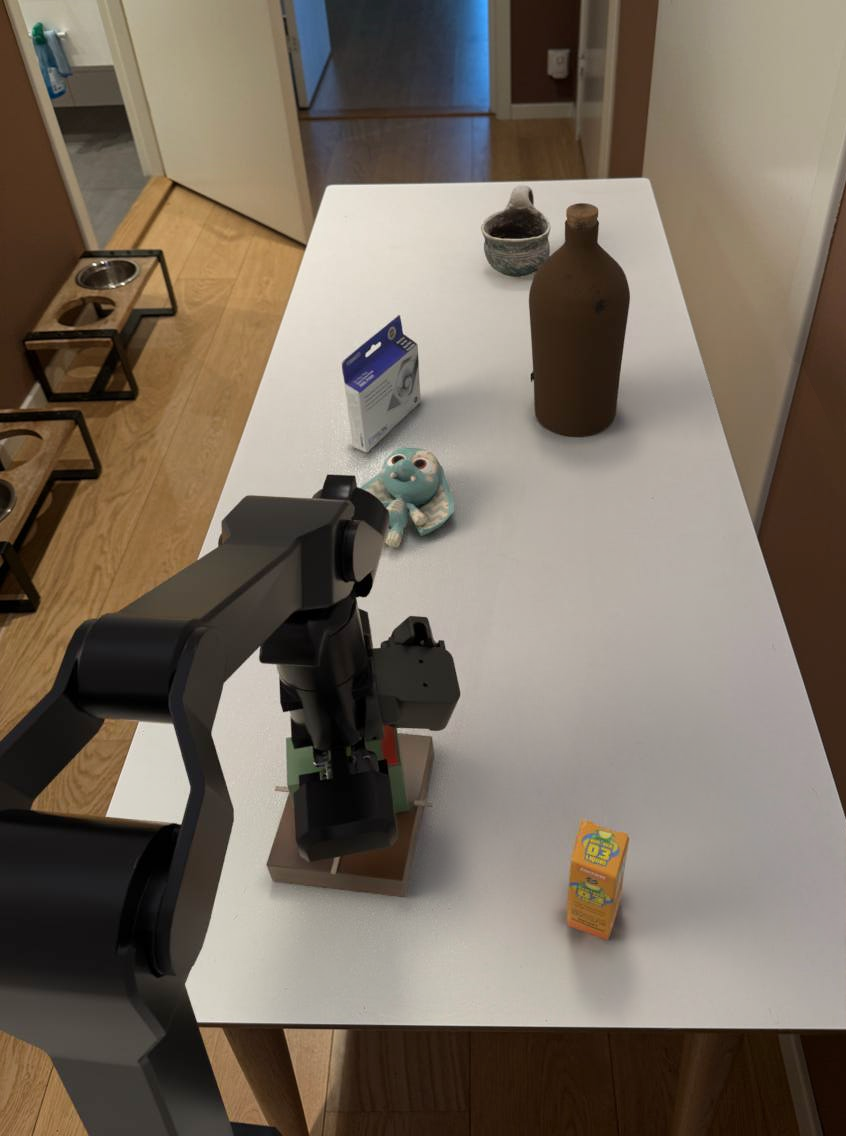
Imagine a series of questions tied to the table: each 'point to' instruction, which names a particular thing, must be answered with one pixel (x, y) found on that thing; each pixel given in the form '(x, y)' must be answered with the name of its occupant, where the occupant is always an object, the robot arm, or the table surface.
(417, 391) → the ink box
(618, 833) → the supplement box
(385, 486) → the stuffed animal
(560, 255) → the olive oil
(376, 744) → the green box
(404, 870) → the brown rectangular platform
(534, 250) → the mug
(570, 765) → the table surface
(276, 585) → the robot arm
